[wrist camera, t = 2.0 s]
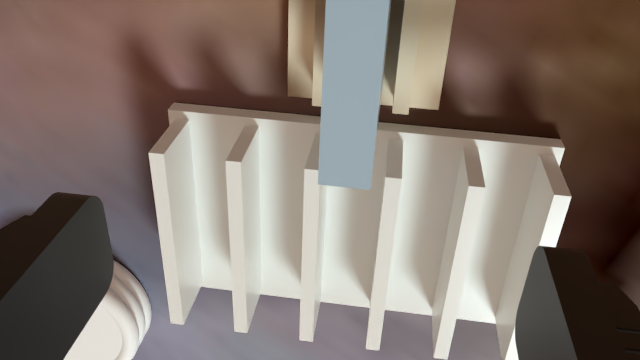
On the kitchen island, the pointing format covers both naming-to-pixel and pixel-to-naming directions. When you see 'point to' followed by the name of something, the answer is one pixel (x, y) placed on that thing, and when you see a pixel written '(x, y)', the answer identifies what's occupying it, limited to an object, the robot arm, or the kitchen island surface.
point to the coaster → (115, 321)
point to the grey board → (352, 90)
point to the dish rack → (354, 220)
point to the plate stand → (401, 55)
